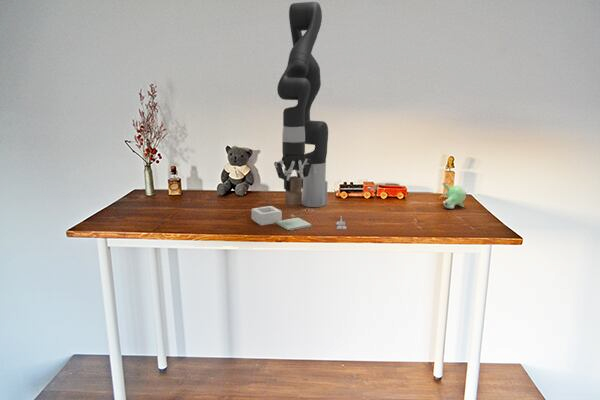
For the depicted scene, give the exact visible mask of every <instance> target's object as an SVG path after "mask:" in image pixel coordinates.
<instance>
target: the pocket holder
mask: <svg viewBox="0 0 600 400" xmlns="http://www.w3.org/2000/svg"><path fill="white" fill-rule="evenodd" d="M250 211H251V220H252V221H253V222H255V223H257V224H258V225H259V226H266V225H272V224H276V221H281V220H283V219H282V218H283V216H282V215H283V213H282V210H281V209H278V208H276V207H275V206H273V205H268V206H267V205H266V206H260V207H254V208H251V210H250Z"/></svg>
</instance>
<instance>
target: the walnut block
mask: <svg viewBox="0 0 600 400" xmlns="http://www.w3.org/2000/svg"><path fill="white" fill-rule="evenodd" d="M289 181H290V191H286V190H285V203H286V204H288V205H289V206H297V205H302V178H300V177H297V175H294V176H293V175H291V176H290V180H289Z"/></svg>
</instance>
